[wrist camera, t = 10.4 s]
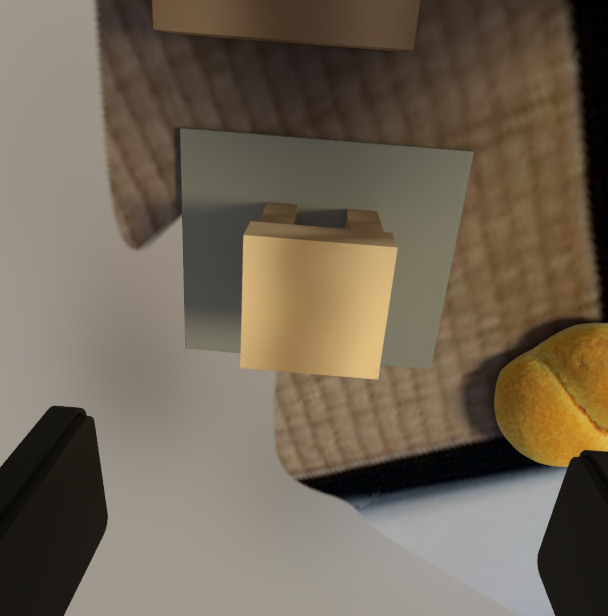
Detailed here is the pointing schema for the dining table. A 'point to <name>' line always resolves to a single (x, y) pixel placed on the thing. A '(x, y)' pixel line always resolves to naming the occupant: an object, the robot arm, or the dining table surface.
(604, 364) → the bread roll
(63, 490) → the robot arm
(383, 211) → the mat
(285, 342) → the stool
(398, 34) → the step
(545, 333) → the dining table surface
